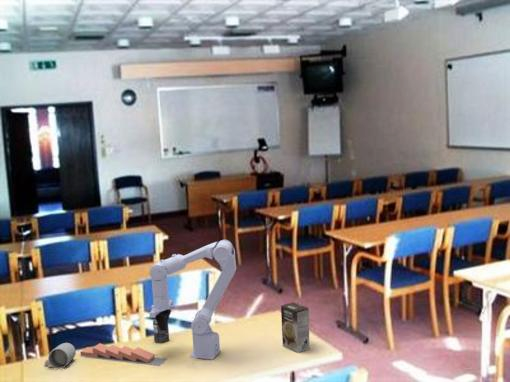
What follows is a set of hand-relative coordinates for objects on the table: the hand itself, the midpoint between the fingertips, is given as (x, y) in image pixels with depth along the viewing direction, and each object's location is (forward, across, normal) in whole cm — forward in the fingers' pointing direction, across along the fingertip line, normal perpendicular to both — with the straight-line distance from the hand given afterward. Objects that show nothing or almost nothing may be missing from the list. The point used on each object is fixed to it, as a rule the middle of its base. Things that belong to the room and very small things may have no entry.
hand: (163, 329), depth 216 cm
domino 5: (+9, +6, -2) cm, 11 cm away
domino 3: (+9, +6, -13) cm, 17 cm away
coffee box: (+10, -18, +46) cm, 50 cm away
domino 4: (+9, +6, -7) cm, 13 cm away
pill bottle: (+10, -12, -8) cm, 18 cm away
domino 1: (+9, +6, -24) cm, 26 cm away
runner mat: (+10, +6, -13) cm, 18 cm away
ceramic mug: (+10, +17, -35) cm, 40 cm away
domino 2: (+9, +6, -19) cm, 22 cm away
